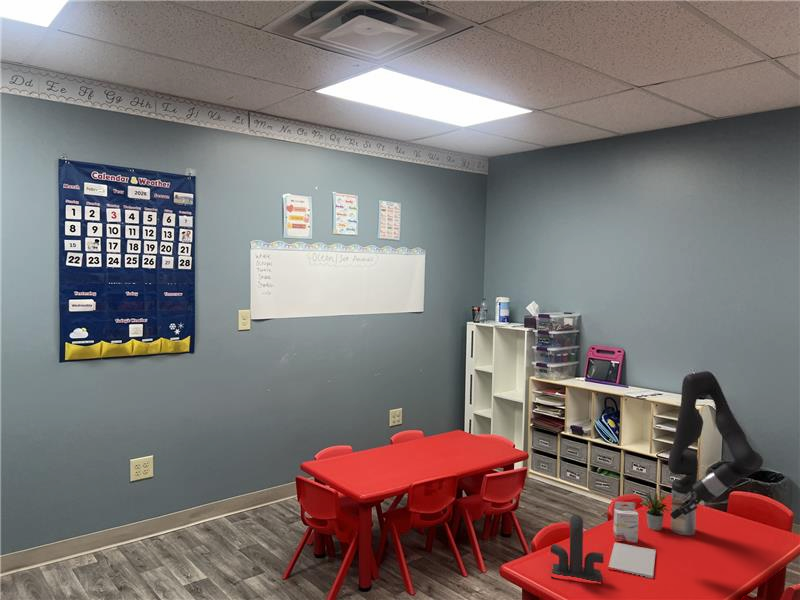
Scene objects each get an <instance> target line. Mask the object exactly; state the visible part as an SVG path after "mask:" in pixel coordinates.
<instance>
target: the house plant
mask: <svg viewBox="0 0 800 600" xmlns="http://www.w3.org/2000/svg"><path fill="white" fill-rule="evenodd" d="M645 490H646V491H645ZM645 490H644V493H645V494H644V493H643V492H642V491H640V490H635V491H637V492H638V493H641V494H643V495H644V498H642V500H643V499H644V500H645V501H646V502H647V503H646V502H644V501H642V502H640V504H641V505H643V506H644V507H647V508H648V510H645V514H646V520H647V522H646V523H647V527H648V528H649V529H650V530H653V531H660V530H662V529H663V528H662V527H663V523H664V517H665V512H667V514H669V513H670V512H669V509H667V507H668V508H669V506H668V504H665V503H663V502H664V500H665V498H666V497H667V495H669V492H667V493H665V494H663V493H662V494H660V498H659V495H658V488H657V490H656V491H655V493H654V498H652V496H651V493H650V492H649V491H648V490H647V489H645ZM661 496H662V497H661ZM658 498H659V499H658ZM669 499H671V498H667V500H669Z"/></svg>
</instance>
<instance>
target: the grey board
mask: <svg viewBox="0 0 800 600" xmlns="http://www.w3.org/2000/svg"><path fill="white" fill-rule="evenodd" d="M656 554H657V553H656V549H652V548H648V547H642V546H641V547H640V546H636V545H630V544H625V543H622V542H621V543H620V542H617V541H616V542H614V544H613V548H612V551H611V555H610V558H609V563H608V567H610V568H615V569H618V570H621V571H624V572H628V573H632V574H631V575H633V574H636V575H635V576H638V575H640V576H639V577H643V576H645V577H644V578H649V579H654V571H655V562H656ZM608 567H607V568H608ZM628 573H627V574H628Z"/></svg>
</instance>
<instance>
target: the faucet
mask: <svg viewBox="0 0 800 600" xmlns="http://www.w3.org/2000/svg"><path fill="white" fill-rule="evenodd" d="M569 532H570V533H569V554H568V552H567V550H566V549H565V548H563V547H562V546H559V545H558V544H556V543H552V545H550V553H552V555H556V556H557V557H558V563H552V564H553V569H552V573H553V574H557V575H563V576H571V577H577V578H582V579H586V580H591V581H597V582H602V583H603V580H602V579H603V578H602V571H601V570H600V569H599V568H595V563H598V564H599V563H600V564H604V553H603V552H593V551H591V552H589V553H587V554H586V555H585V556H583V555H584V554H583V553H584V552H583V551H584V550H583V549H584V543H583V542H584V521H583V518H582V516H581V515H579V514H576V513H575V514H572V515H571V516H570V519H569ZM583 557H584V558H583ZM583 559H584V564H583ZM583 565H584V566H583Z"/></svg>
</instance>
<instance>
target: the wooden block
mask: <svg viewBox="0 0 800 600" xmlns="http://www.w3.org/2000/svg"><path fill="white" fill-rule="evenodd" d="M683 501H685V500H682V499H678V498H672V497H671V502H672V505H671V508H670V514H671V513H672V512H674V511H675V510H676V509H678V508H679V507H680V506H681V505H682V502H683ZM684 510H685V508H684ZM671 529H675V530H681V531H685V515H684V514H682V515H680V516H679V517H678V518H676V519H673V518H672V517H671V516H670V530H671Z"/></svg>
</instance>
